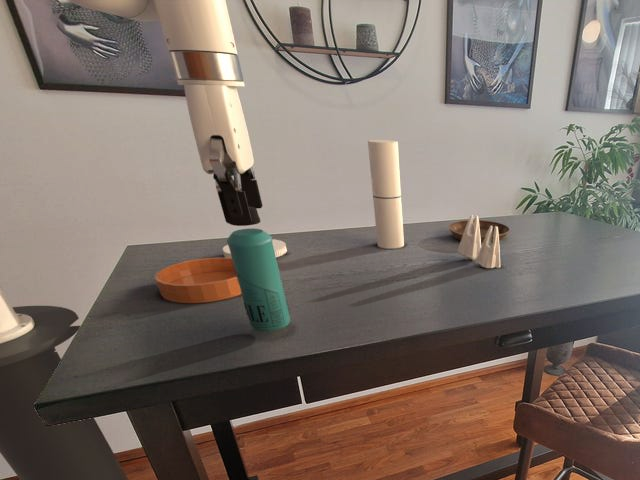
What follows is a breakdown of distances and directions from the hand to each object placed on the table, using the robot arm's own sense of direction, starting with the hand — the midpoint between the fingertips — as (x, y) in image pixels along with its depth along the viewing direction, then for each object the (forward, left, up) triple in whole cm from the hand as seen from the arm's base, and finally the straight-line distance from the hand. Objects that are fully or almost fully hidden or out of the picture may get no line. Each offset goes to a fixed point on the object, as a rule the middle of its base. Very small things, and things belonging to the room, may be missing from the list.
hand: (246, 215), depth 64 cm
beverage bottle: (0, 0, -19) cm, 19 cm away
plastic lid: (-9, +44, -19) cm, 49 cm away
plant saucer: (+50, +54, -19) cm, 76 cm away
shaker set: (+44, +31, -19) cm, 57 cm away
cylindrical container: (+24, +50, -19) cm, 59 cm away
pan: (-15, +24, -19) cm, 34 cm away
